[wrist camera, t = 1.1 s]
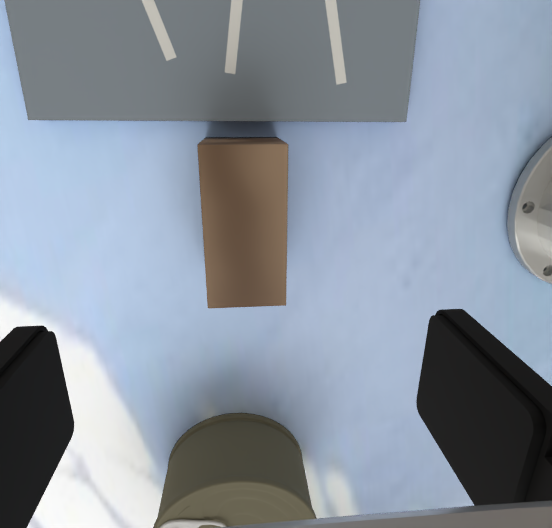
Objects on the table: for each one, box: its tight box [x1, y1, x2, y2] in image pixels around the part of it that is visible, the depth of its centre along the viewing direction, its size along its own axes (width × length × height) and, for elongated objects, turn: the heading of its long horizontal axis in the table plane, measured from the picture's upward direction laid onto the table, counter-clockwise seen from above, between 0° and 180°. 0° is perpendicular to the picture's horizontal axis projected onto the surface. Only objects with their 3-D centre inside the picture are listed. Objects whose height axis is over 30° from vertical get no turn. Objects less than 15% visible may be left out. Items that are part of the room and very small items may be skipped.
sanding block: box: [198, 137, 288, 308], centre depth 24 cm, size 4×9×6 cm, turn 0°
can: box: [153, 413, 316, 528], centre depth 32 cm, size 12×12×7 cm
